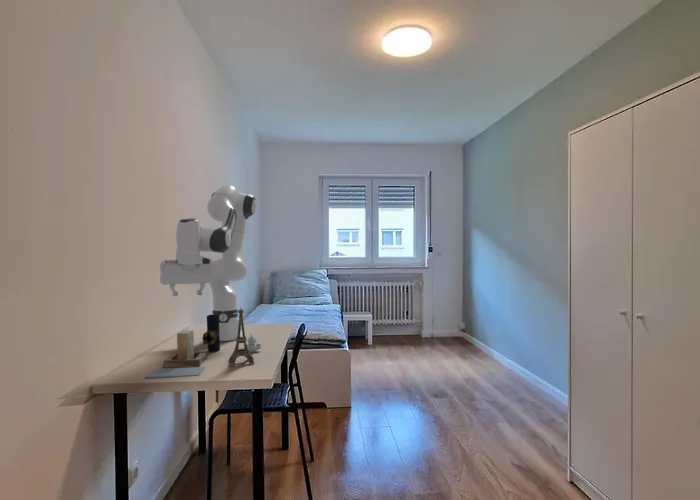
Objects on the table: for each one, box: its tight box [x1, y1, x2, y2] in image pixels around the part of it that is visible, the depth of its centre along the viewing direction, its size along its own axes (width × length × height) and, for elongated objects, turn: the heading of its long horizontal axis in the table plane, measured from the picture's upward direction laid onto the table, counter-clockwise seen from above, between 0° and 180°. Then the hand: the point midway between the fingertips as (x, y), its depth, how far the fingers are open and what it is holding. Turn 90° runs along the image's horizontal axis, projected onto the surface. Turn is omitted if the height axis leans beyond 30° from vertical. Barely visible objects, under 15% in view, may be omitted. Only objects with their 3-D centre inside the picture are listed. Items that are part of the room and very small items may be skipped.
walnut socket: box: [162, 351, 207, 369], centre depth 173 cm, size 13×13×2 cm
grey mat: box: [144, 366, 206, 379], centre depth 160 cm, size 10×18×1 cm, turn 97°
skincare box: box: [176, 329, 195, 360], centre depth 173 cm, size 6×4×12 cm
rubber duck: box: [246, 334, 262, 354], centre depth 189 cm, size 5×7×8 cm
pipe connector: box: [202, 314, 221, 353], centre depth 189 cm, size 12×5×15 cm, turn 4°
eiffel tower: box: [227, 308, 255, 368], centre depth 171 cm, size 11×11×25 cm
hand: (187, 295), depth 174 cm, fingers open, 8 cm apart
